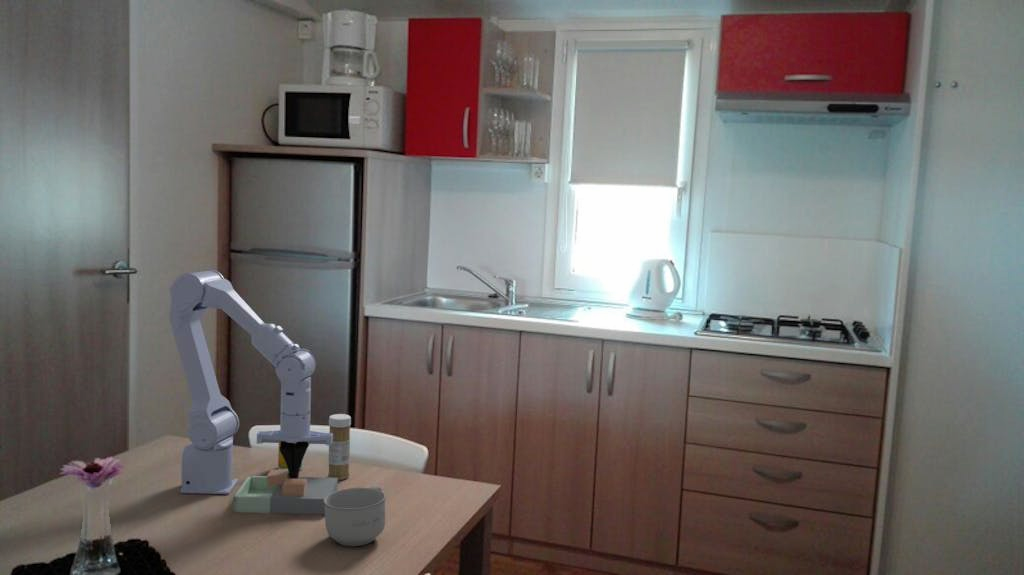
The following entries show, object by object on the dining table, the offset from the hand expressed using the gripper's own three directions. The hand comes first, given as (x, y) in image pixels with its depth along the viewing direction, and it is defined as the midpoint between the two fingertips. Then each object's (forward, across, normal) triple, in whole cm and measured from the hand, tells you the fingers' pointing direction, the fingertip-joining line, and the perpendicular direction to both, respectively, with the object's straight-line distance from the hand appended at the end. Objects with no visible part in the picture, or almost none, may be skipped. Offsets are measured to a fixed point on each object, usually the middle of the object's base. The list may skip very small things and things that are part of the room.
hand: (294, 478), depth 170 cm
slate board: (+4, +3, -3) cm, 5 cm away
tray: (+4, -6, -3) cm, 8 cm away
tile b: (+1, +1, -5) cm, 6 cm away
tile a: (+1, -3, 0) cm, 3 cm away
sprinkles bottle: (+4, +7, +12) cm, 15 cm away
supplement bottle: (+4, -4, +17) cm, 18 cm away
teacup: (+4, +15, -19) cm, 24 cm away
